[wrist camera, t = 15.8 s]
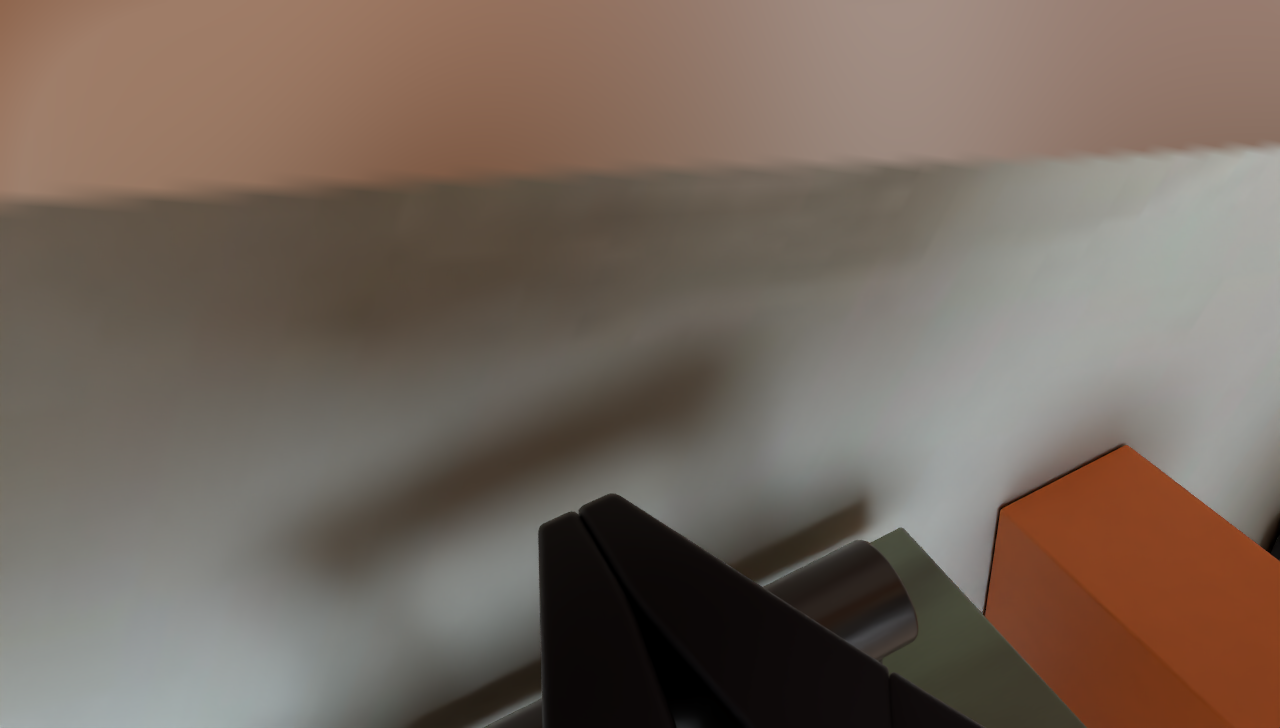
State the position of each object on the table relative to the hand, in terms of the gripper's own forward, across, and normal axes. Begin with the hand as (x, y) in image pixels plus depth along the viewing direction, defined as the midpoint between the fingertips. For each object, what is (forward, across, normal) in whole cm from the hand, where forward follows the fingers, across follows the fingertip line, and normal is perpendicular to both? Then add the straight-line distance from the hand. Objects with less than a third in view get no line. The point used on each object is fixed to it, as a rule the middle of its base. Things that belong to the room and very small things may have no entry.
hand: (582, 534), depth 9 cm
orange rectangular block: (+4, -11, +12) cm, 16 cm away
